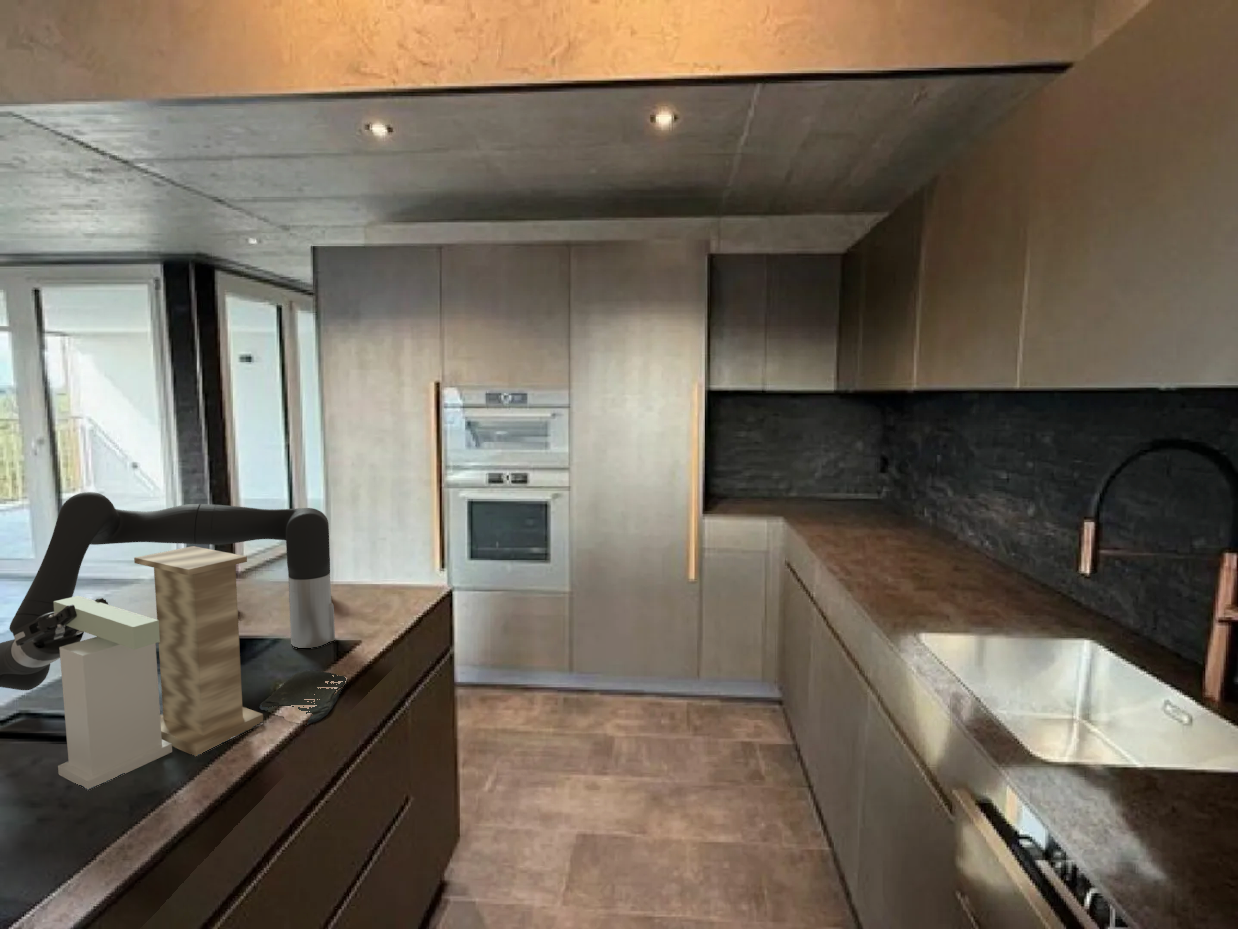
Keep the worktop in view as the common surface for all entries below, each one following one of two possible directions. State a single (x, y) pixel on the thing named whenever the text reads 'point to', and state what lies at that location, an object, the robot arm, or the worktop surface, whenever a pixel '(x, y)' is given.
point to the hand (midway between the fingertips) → (88, 607)
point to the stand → (199, 647)
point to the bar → (111, 622)
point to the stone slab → (308, 693)
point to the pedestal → (109, 710)
